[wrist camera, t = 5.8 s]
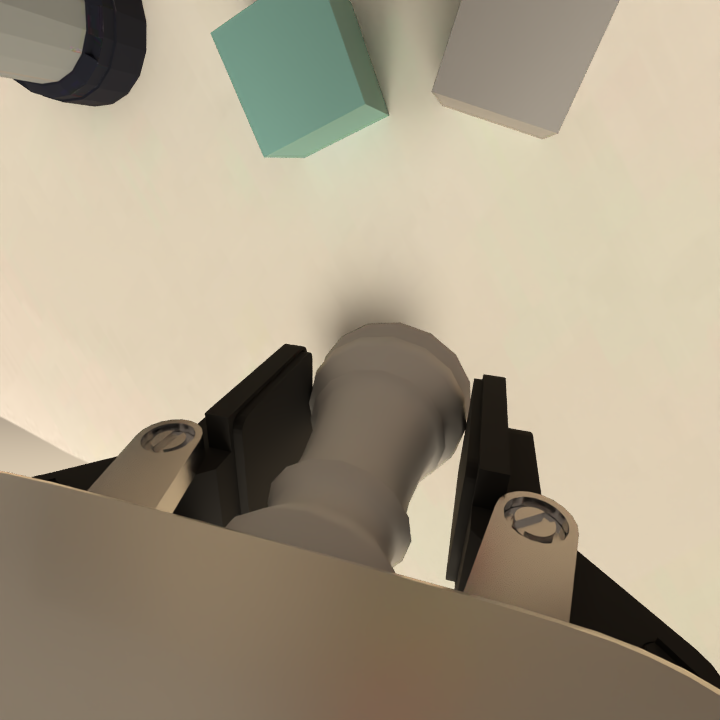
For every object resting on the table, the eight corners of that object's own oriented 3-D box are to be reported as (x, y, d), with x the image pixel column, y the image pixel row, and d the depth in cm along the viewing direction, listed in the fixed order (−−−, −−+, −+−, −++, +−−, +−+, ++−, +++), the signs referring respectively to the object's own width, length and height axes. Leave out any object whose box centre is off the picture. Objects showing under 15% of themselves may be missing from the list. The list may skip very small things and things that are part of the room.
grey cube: (599, 11, 18) (636, -36, 14) (542, 139, 21) (557, 133, 16) (486, -23, 19) (486, -79, 14) (442, 106, 21) (431, 91, 17)
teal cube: (351, 3, 20) (314, -40, 16) (389, 115, 22) (365, 104, 17) (264, 58, 22) (210, 33, 18) (305, 157, 24) (264, 157, 19)
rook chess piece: (304, 335, 13) (85, 532, 6) (451, 299, 11) (381, 513, 4) (351, 457, 14) (217, 733, 7) (488, 441, 13) (480, 775, 6)
